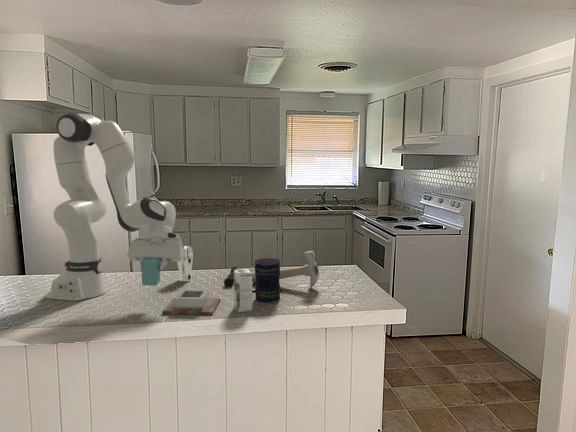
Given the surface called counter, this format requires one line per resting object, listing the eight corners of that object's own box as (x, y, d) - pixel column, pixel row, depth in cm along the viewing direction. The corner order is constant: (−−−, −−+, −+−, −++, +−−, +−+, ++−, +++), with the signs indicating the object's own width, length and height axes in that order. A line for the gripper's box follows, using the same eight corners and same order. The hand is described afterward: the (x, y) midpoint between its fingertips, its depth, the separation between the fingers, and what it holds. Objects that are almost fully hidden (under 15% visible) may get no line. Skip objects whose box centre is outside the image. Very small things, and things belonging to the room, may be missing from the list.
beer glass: (191, 282, 194) (190, 249, 192) (175, 282, 194) (174, 249, 192) (195, 277, 201) (193, 245, 199) (179, 277, 201) (178, 245, 199)
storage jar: (268, 292, 180) (268, 257, 177) (285, 298, 173) (285, 261, 170) (249, 298, 173) (249, 261, 170) (266, 304, 166) (266, 266, 163)
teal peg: (142, 285, 161) (141, 261, 159) (147, 281, 165) (146, 257, 164) (155, 285, 160) (154, 261, 159) (160, 281, 165) (159, 258, 164)
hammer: (247, 262, 190) (311, 252, 179) (251, 259, 195) (314, 249, 183) (255, 297, 191) (319, 289, 180) (259, 293, 196) (322, 286, 184)
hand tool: (233, 287, 187) (233, 277, 187) (224, 287, 188) (223, 276, 187) (241, 275, 206) (241, 265, 205) (233, 275, 206) (232, 265, 206)
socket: (175, 309, 158) (174, 298, 157) (182, 299, 168) (182, 289, 167) (202, 309, 157) (202, 298, 157) (208, 300, 167) (208, 289, 167)
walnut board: (162, 314, 156) (162, 311, 156) (174, 301, 170) (173, 298, 170) (212, 314, 155) (212, 311, 155) (220, 301, 169) (220, 298, 169)
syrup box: (233, 307, 163) (232, 269, 160) (248, 305, 165) (248, 268, 163) (237, 312, 157) (236, 273, 155) (253, 310, 159) (252, 271, 157)
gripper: (130, 233, 169) (120, 265, 160) (182, 234, 168) (176, 266, 160) (134, 242, 174) (126, 273, 165) (186, 243, 173) (179, 274, 165)
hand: (151, 270), depth 163 cm, fingers closed on teal peg, 5 cm apart
